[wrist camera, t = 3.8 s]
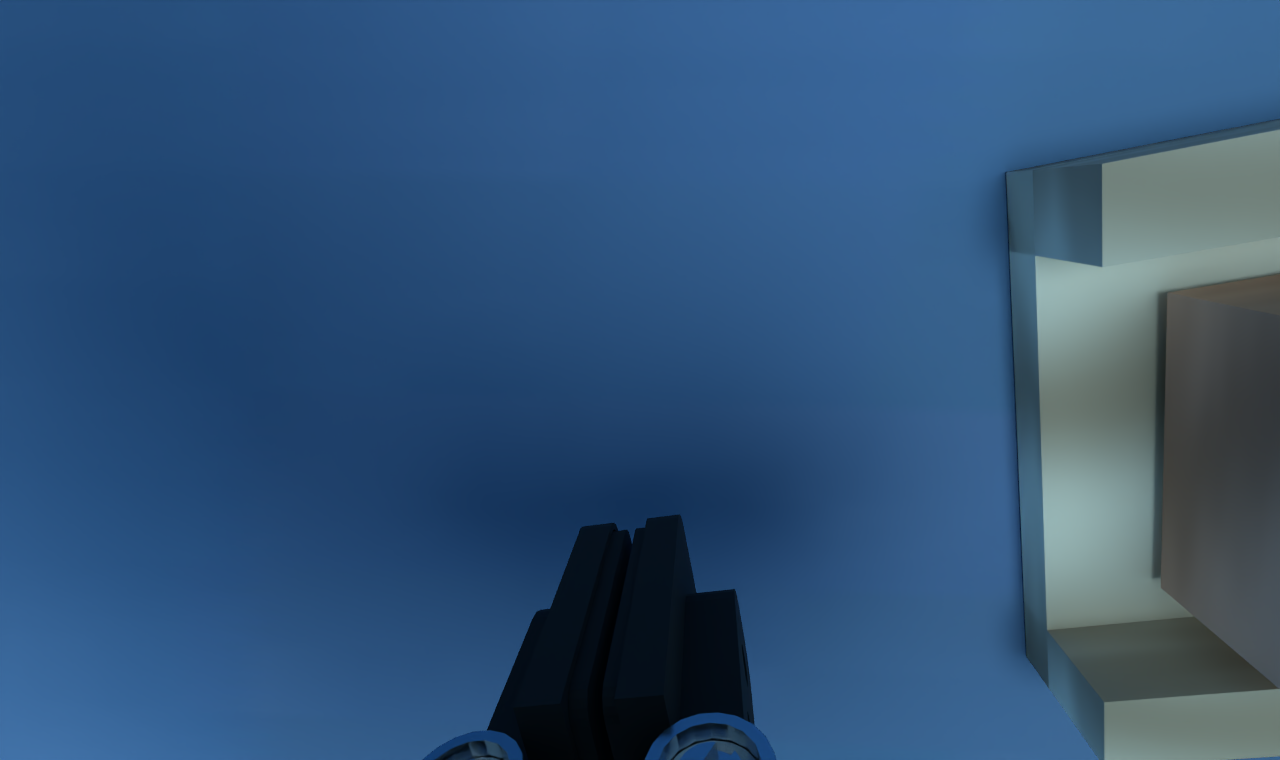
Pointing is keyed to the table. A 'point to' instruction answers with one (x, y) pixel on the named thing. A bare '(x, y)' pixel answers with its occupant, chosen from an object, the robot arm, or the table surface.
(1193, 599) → the block
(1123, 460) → the chute
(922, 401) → the table surface
